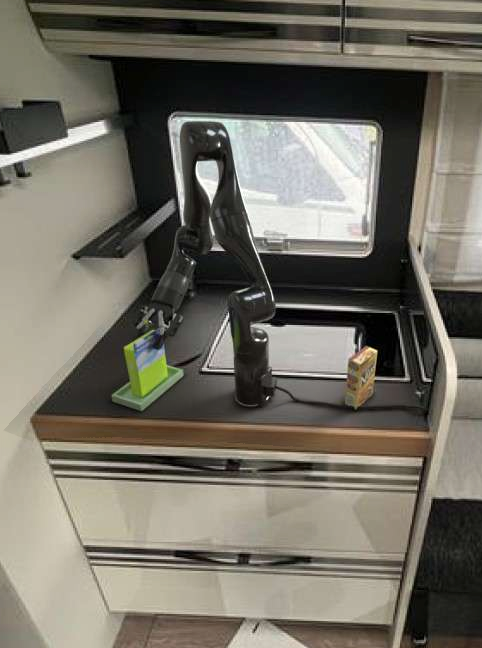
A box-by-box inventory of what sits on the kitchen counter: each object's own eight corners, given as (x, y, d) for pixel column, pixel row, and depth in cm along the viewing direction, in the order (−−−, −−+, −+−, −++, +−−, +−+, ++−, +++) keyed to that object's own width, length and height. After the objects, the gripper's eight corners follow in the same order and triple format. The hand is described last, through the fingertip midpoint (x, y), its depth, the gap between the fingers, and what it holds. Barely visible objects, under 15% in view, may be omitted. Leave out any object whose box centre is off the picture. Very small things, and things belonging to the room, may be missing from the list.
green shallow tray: (183, 375, 118) (183, 369, 117) (141, 411, 104) (140, 405, 103) (157, 367, 121) (156, 361, 120) (112, 401, 106) (111, 395, 105)
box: (158, 373, 117) (151, 322, 110) (170, 377, 116) (163, 325, 109) (130, 395, 108) (120, 340, 101) (142, 399, 107) (133, 344, 100)
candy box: (356, 410, 110) (361, 364, 103) (343, 404, 112) (347, 358, 105) (372, 394, 116) (378, 350, 110) (360, 388, 118) (365, 344, 112)
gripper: (142, 280, 111) (114, 336, 106) (185, 290, 107) (159, 349, 102) (158, 290, 118) (133, 343, 113) (199, 299, 114) (175, 355, 109)
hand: (145, 346), depth 107 cm, fingers open, 6 cm apart
